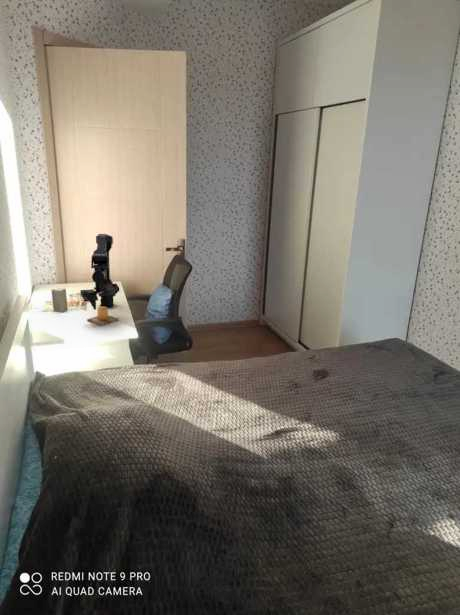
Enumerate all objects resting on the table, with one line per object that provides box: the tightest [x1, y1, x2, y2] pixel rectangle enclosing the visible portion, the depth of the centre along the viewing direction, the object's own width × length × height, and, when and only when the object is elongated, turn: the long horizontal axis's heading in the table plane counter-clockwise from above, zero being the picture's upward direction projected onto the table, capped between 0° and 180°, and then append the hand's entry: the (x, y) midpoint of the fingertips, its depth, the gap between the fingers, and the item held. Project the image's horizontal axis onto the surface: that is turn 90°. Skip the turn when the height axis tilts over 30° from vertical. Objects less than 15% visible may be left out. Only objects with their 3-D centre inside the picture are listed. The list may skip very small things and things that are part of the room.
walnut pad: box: [86, 314, 119, 327], centre depth 235 cm, size 11×11×1 cm
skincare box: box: [51, 287, 68, 313], centre depth 245 cm, size 6×4×12 cm
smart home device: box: [80, 288, 99, 302], centre depth 274 cm, size 8×2×20 cm
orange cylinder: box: [96, 306, 109, 321], centre depth 234 cm, size 5×5×6 cm
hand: (102, 307), depth 233 cm, fingers open, 9 cm apart
